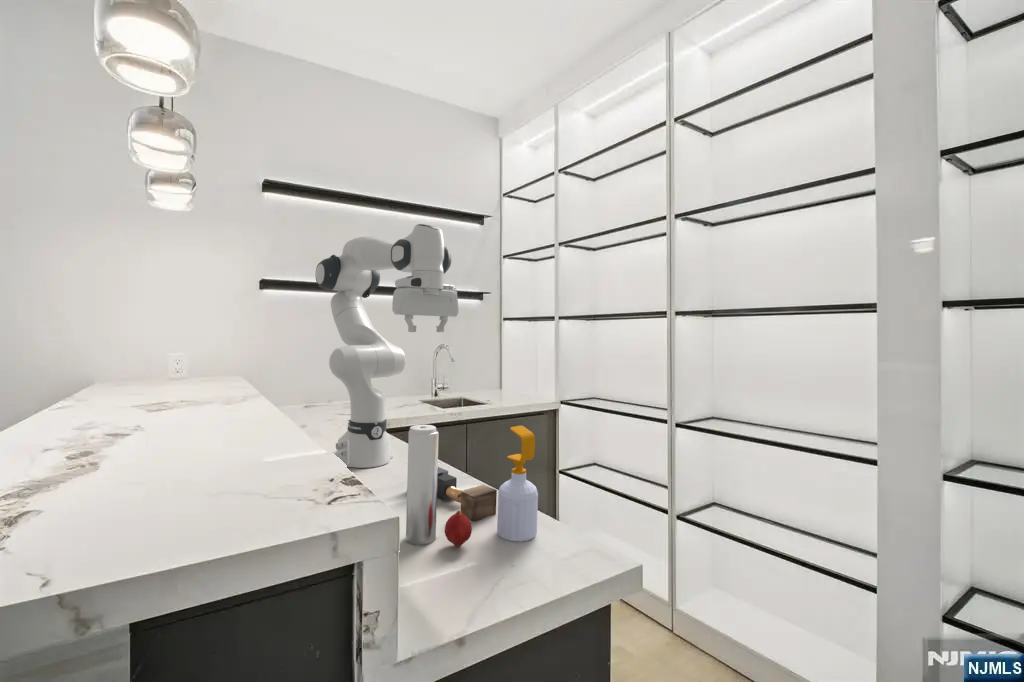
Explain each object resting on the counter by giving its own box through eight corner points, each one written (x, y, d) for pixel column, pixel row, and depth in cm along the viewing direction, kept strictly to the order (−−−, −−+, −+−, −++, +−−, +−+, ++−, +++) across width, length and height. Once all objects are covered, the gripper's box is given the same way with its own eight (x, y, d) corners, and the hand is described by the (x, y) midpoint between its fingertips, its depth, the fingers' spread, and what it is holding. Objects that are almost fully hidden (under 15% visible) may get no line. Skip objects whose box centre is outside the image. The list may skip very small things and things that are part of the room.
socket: (460, 515, 119) (461, 491, 118) (482, 508, 124) (483, 484, 123) (473, 522, 115) (474, 497, 115) (495, 514, 120) (496, 490, 120)
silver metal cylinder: (429, 547, 102) (432, 431, 101) (400, 543, 103) (403, 428, 102) (439, 534, 108) (443, 424, 107) (413, 530, 109) (415, 422, 108)
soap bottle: (516, 521, 116) (520, 421, 115) (544, 534, 110) (548, 428, 109) (488, 532, 110) (492, 426, 109) (517, 546, 103) (520, 434, 102)
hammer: (417, 488, 135) (417, 469, 135) (429, 485, 138) (429, 466, 137) (454, 506, 123) (455, 485, 123) (466, 502, 126) (467, 482, 125)
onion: (441, 542, 104) (442, 506, 104) (466, 538, 107) (467, 503, 106) (448, 554, 99) (449, 516, 99) (474, 550, 101) (476, 513, 101)
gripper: (450, 285, 144) (449, 331, 144) (389, 280, 129) (388, 331, 130) (463, 285, 139) (462, 332, 140) (402, 279, 125) (401, 332, 125)
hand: (426, 332), depth 135 cm, fingers open, 8 cm apart
